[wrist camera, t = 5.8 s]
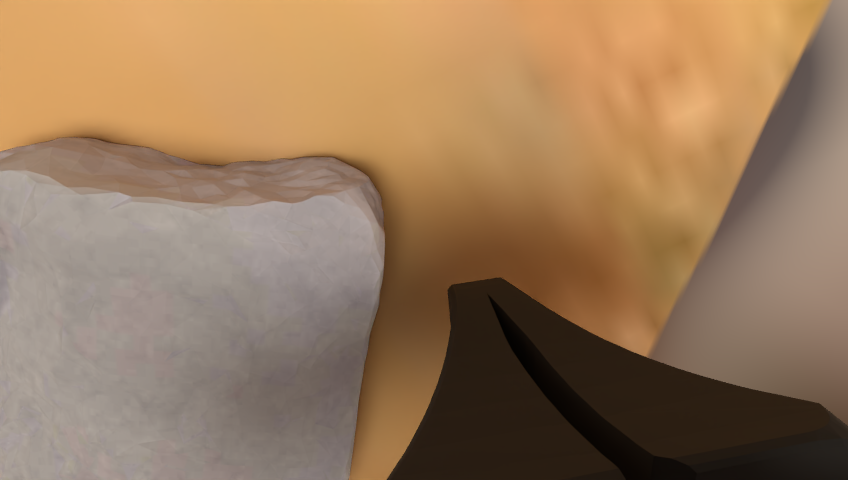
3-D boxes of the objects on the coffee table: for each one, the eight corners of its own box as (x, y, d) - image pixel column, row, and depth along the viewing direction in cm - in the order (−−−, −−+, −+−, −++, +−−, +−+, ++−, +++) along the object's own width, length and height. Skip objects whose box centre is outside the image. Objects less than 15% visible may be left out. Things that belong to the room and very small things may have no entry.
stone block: (80, 442, 16) (358, 490, 16) (-60, 581, 12) (324, 646, 12) (41, 96, 12) (410, 161, 12) (-195, 109, 8) (387, 211, 8)
